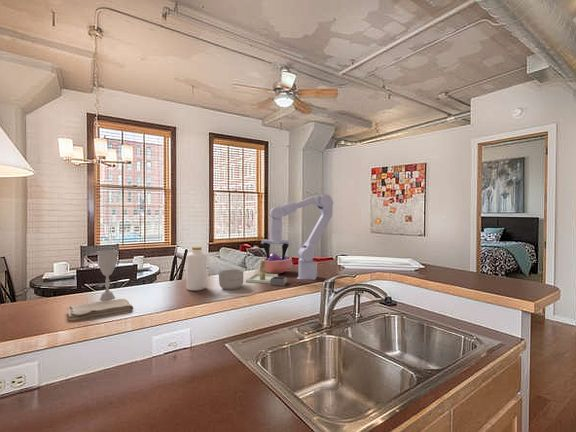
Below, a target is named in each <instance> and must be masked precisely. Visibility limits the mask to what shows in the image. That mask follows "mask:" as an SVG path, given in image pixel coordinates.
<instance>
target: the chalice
mask: <svg viewBox="0 0 576 432" xmlns="http://www.w3.org/2000/svg"><path fill="white" fill-rule="evenodd" d="M117 253H118V250H116V249H113V250H112V249H108V250H99V251H96V254H97V258H98V260H97V261H98V262H97V263H98V264H97V265H98V268H99V270H100V272H101V273H102V275H103V276H105V280H104V281H105V285H104V287H105V291H104V292H102V293H101V295H100V297H99V300H101V301H106V300H107V301H108V300H114V299H115V298H116V297H115V296H114V292H113V291H111V290H110V289H109V288H110V286H111V284H110V281H111V280H110V278H109V277H110V276H111V275H112V274H113V272H114V270H115V269H116V265H117Z"/></svg>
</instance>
